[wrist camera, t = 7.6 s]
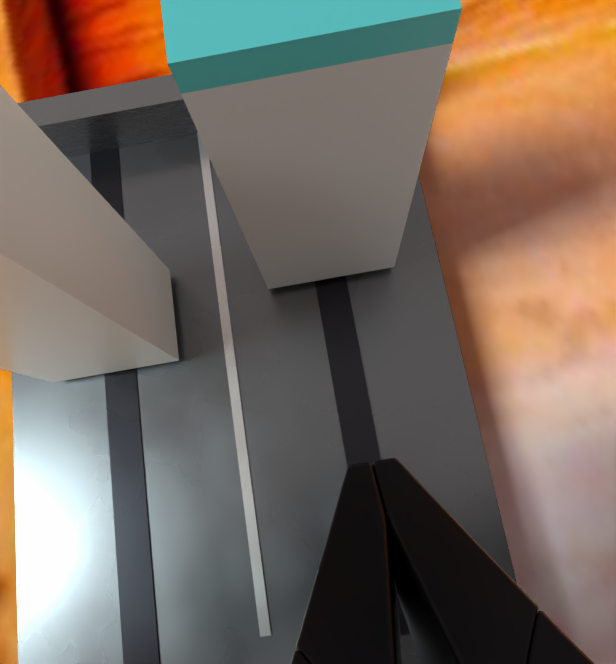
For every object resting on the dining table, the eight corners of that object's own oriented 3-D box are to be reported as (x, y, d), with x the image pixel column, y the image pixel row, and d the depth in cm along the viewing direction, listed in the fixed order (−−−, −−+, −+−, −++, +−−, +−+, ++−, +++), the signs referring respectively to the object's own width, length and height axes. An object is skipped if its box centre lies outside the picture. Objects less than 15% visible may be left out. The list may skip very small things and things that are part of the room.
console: (533, 700, 15) (580, 760, 12) (46, 775, 15) (-26, 851, 12) (390, 95, 19) (399, 31, 17) (26, 162, 20) (-28, 111, 17)
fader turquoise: (394, 266, 16) (461, 8, 7) (268, 288, 16) (167, 63, 7) (375, 181, 17) (414, -156, 8) (255, 203, 17) (148, -104, 8)
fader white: (179, 360, 16) (-51, 222, 7) (51, 382, 16) (-349, 276, 7) (169, 269, 17) (-49, 31, 7) (48, 291, 17) (-318, 83, 8)
